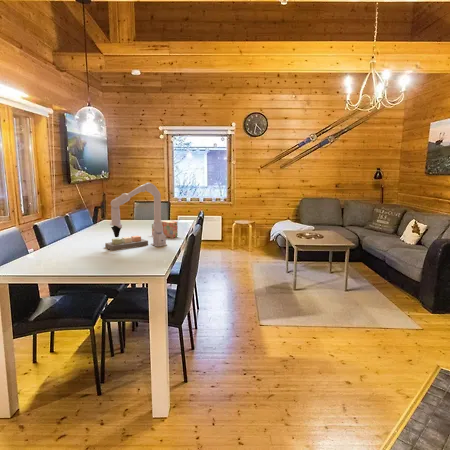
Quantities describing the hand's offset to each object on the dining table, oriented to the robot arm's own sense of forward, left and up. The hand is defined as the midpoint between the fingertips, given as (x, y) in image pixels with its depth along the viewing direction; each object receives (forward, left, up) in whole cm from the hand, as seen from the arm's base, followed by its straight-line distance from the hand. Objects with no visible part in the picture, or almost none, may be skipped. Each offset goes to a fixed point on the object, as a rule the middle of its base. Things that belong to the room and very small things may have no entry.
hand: (116, 237), depth 239 cm
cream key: (0, -7, -5) cm, 8 cm away
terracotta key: (0, -14, -5) cm, 15 cm away
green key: (0, 0, -5) cm, 5 cm away
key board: (0, -7, -7) cm, 10 cm away
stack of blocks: (+15, -46, -8) cm, 49 cm away
